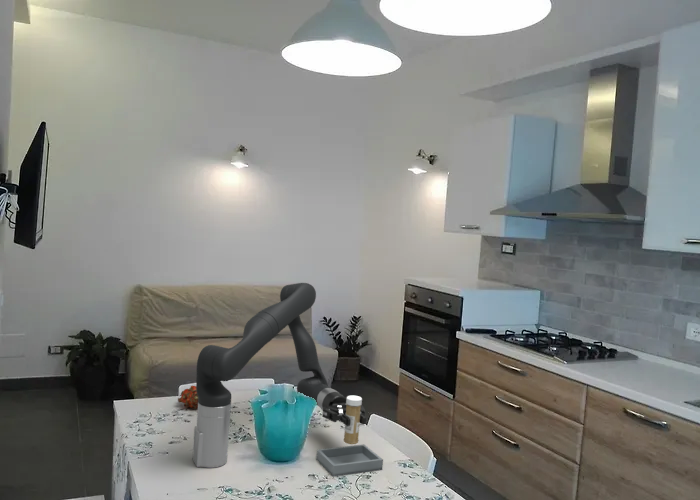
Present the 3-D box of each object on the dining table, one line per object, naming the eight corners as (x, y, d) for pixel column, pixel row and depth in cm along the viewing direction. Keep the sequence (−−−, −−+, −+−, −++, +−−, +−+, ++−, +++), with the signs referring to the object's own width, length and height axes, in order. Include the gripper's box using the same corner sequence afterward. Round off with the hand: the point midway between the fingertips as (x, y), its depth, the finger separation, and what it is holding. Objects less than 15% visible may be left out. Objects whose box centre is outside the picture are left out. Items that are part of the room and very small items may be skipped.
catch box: (332, 476, 163) (333, 466, 163) (316, 459, 174) (316, 449, 174) (382, 469, 171) (383, 459, 170) (363, 453, 181) (364, 444, 181)
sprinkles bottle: (361, 443, 172) (365, 398, 171) (348, 445, 169) (352, 400, 168) (352, 437, 175) (356, 394, 175) (340, 440, 173) (343, 395, 172)
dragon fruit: (201, 417, 207) (181, 413, 214) (216, 399, 213) (196, 395, 220) (189, 400, 203) (168, 396, 211) (204, 382, 209) (184, 379, 216)
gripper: (312, 392, 181) (335, 411, 166) (353, 389, 188) (379, 407, 172) (310, 416, 182) (333, 437, 166) (351, 412, 188) (377, 432, 173)
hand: (356, 421), depth 170 cm, fingers closed on sprinkles bottle, 4 cm apart
